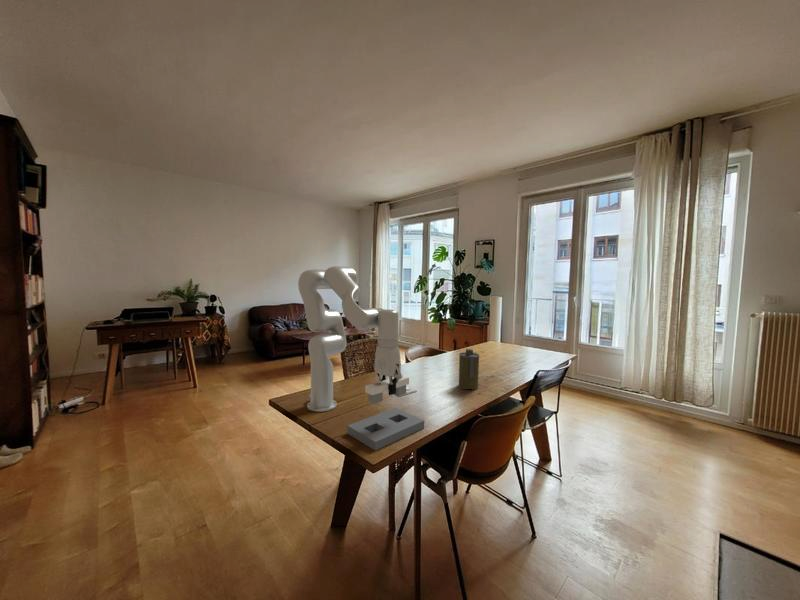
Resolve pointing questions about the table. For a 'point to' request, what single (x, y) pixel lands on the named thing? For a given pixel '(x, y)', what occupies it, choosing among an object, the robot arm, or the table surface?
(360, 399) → the table surface
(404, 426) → the mounting board
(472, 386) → the canister
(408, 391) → the light switch
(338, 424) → the table surface
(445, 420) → the table surface
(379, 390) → the off-white connector bar
